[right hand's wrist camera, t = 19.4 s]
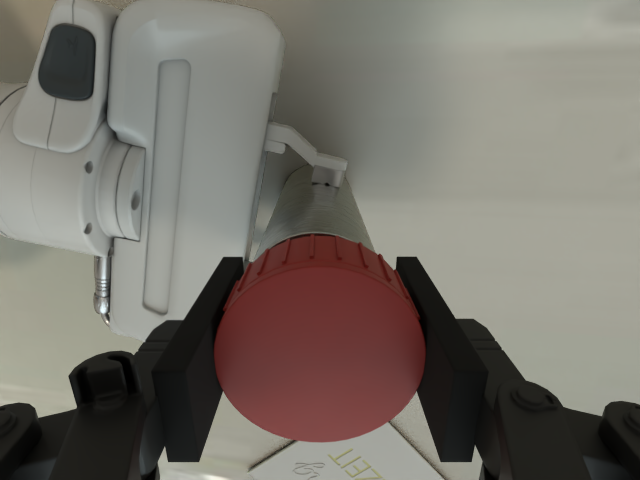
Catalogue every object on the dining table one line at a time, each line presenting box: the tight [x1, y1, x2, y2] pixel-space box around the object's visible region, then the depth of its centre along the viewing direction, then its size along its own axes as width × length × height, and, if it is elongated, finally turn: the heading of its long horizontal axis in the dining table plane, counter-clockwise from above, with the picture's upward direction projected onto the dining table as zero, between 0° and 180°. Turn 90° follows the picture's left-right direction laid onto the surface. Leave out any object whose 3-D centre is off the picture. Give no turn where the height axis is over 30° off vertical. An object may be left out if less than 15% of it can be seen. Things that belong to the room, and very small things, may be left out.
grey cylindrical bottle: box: [253, 164, 375, 262], centre depth 20 cm, size 5×5×18 cm
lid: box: [214, 234, 426, 443], centre depth 12 cm, size 6×6×2 cm
